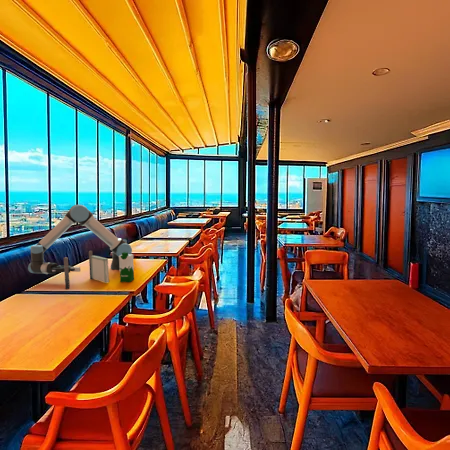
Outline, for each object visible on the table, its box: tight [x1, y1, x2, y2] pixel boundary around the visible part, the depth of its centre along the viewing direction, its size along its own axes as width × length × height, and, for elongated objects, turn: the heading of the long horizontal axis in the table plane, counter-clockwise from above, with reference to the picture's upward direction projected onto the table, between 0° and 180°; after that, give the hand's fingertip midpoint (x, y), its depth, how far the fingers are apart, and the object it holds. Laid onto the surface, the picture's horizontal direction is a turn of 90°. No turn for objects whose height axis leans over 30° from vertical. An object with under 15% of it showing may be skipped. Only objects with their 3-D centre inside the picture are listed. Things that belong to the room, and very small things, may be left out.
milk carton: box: [119, 252, 135, 283], centre depth 232 cm, size 9×9×20 cm
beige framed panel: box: [91, 255, 110, 284], centre depth 231 cm, size 19×2×16 cm, turn 48°
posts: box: [63, 250, 93, 290], centre depth 226 cm, size 27×2×20 cm, turn 166°
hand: (79, 269), depth 227 cm, fingers closed
